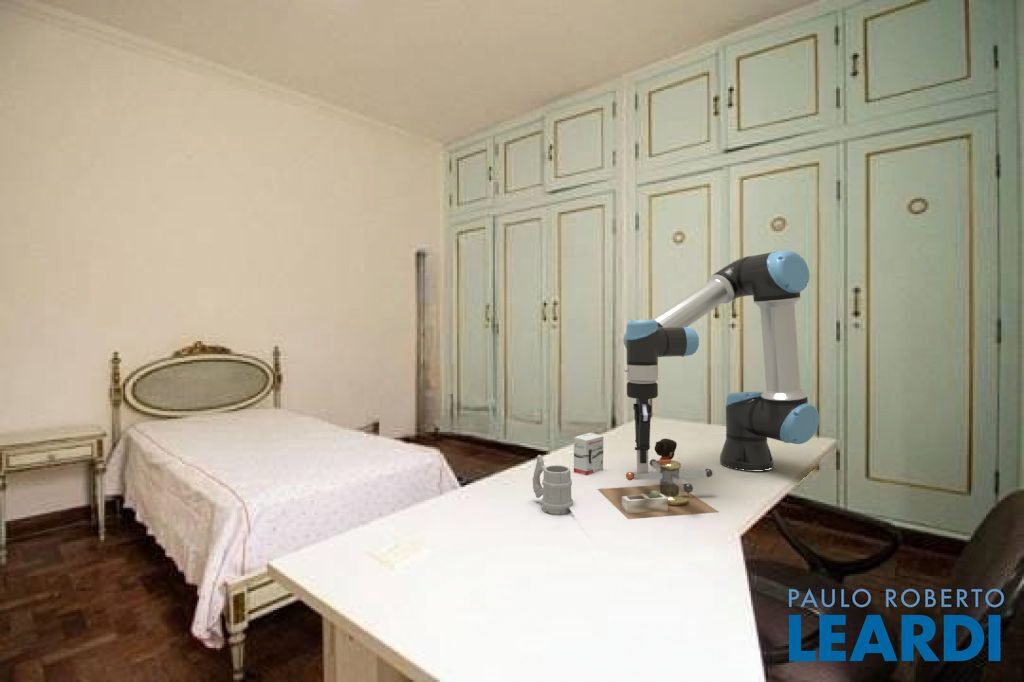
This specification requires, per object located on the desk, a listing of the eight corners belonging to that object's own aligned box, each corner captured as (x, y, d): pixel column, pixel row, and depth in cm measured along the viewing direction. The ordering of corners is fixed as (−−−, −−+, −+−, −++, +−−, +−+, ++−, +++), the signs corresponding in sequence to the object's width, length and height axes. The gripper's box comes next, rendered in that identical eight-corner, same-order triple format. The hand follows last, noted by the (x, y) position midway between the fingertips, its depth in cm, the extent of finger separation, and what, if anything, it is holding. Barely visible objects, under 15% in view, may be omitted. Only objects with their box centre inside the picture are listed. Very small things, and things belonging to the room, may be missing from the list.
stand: (675, 489, 130) (675, 468, 130) (719, 518, 111) (719, 493, 111) (597, 494, 127) (597, 472, 127) (628, 525, 107) (628, 499, 107)
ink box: (586, 480, 138) (586, 439, 138) (573, 477, 142) (572, 436, 142) (604, 474, 144) (604, 434, 144) (590, 470, 148) (590, 432, 147)
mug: (558, 518, 112) (558, 466, 111) (522, 504, 120) (522, 456, 120) (579, 509, 117) (579, 460, 116) (544, 497, 126) (543, 451, 125)
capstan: (612, 484, 129) (612, 450, 129) (691, 481, 131) (691, 447, 131) (642, 517, 107) (642, 475, 107) (736, 512, 110) (737, 472, 109)
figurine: (672, 486, 133) (672, 442, 133) (652, 482, 137) (652, 439, 136) (680, 480, 138) (680, 438, 138) (660, 476, 142) (660, 435, 141)
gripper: (624, 378, 128) (624, 466, 129) (629, 384, 116) (629, 482, 116) (653, 378, 127) (653, 467, 128) (662, 384, 114) (662, 483, 115)
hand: (642, 474), depth 122 cm, fingers closed
